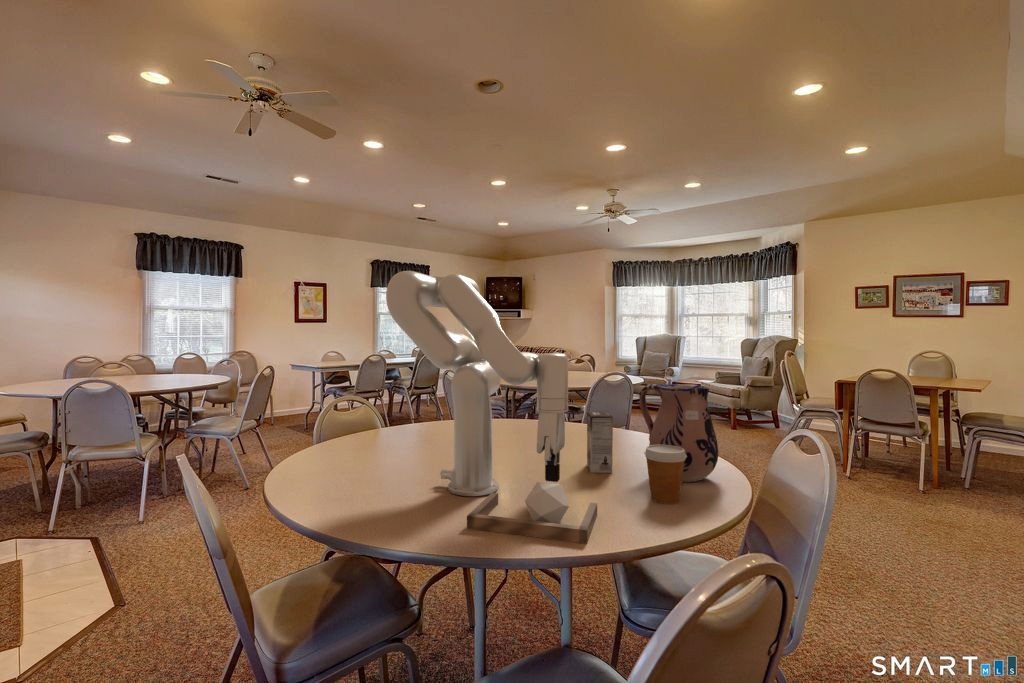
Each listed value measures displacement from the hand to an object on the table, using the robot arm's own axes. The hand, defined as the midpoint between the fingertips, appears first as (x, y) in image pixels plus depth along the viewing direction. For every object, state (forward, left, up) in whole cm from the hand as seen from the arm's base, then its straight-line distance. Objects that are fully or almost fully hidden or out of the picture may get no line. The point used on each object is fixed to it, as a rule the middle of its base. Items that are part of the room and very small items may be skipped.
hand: (552, 480), depth 117 cm
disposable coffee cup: (+26, +5, -4) cm, 27 cm away
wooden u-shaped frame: (0, -17, -4) cm, 17 cm away
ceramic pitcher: (+29, +25, -4) cm, 38 cm away
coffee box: (+8, +27, -4) cm, 28 cm away
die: (+2, -17, -4) cm, 17 cm away
